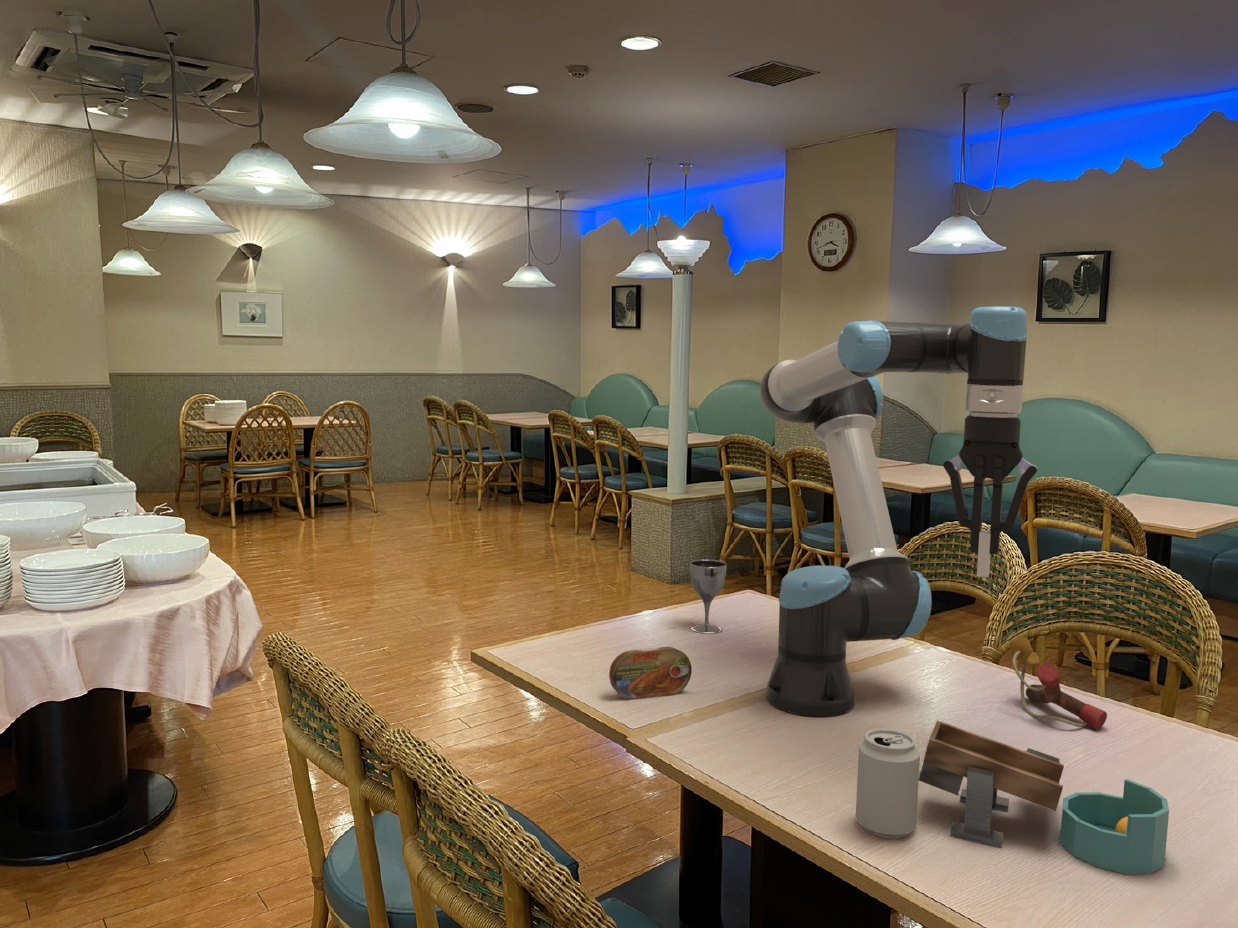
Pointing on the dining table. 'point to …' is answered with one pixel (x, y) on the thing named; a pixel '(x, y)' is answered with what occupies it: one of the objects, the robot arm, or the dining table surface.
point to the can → (887, 783)
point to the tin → (650, 673)
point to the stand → (980, 809)
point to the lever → (990, 765)
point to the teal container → (1095, 823)
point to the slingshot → (1051, 689)
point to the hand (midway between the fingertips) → (983, 574)
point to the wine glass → (707, 586)
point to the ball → (1122, 826)
